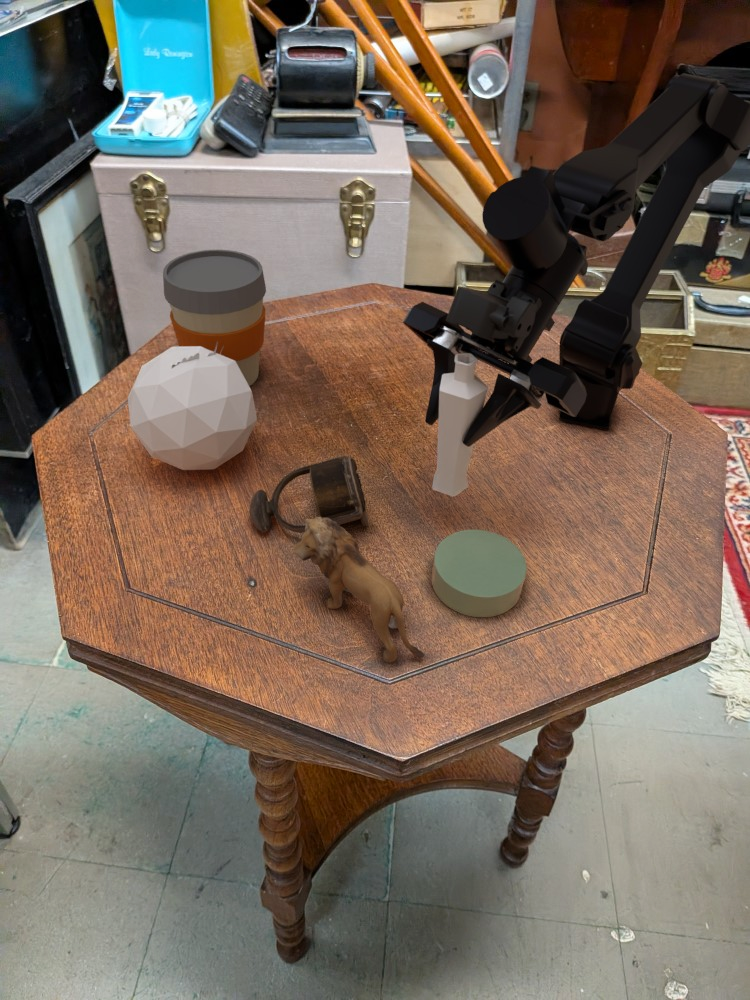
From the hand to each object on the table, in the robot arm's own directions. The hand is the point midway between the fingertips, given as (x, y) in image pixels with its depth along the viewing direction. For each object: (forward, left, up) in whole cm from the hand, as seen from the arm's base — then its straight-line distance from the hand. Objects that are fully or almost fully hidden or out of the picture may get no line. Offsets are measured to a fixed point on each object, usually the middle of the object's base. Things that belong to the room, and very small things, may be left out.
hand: (446, 434), depth 70 cm
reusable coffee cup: (+34, -19, -12) cm, 41 cm away
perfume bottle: (-1, -1, -7) cm, 7 cm away
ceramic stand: (-6, +7, -12) cm, 15 cm away
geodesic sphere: (+29, -2, -12) cm, 32 cm away
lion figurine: (+4, +15, -12) cm, 20 cm away
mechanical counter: (+13, +3, -12) cm, 18 cm away
